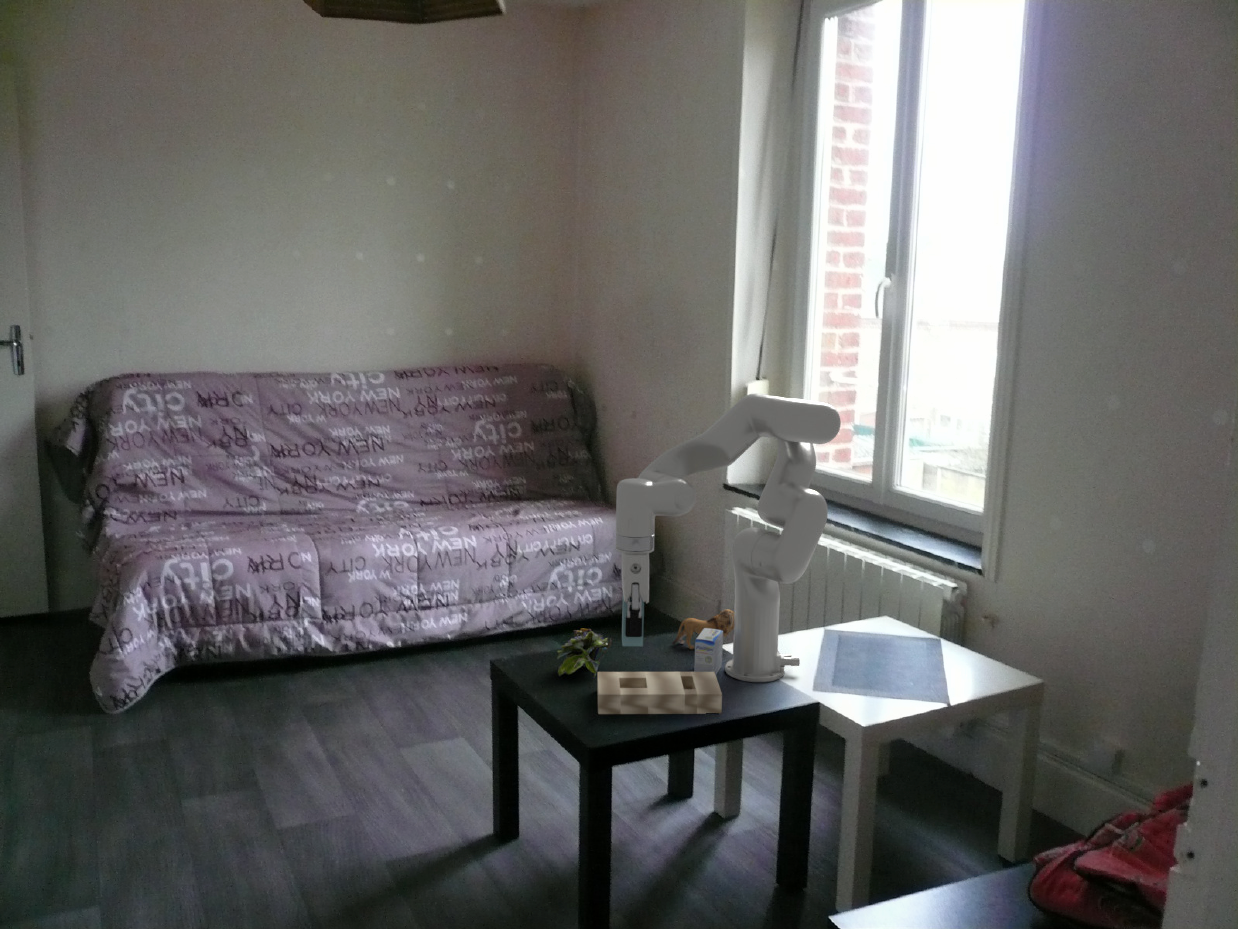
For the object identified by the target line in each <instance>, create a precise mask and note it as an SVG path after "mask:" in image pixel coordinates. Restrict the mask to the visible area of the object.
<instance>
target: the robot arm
mask: <svg viewBox="0 0 1238 929" xmlns="http://www.w3.org/2000/svg"><path fill="white" fill-rule="evenodd" d="M840 429H841V416H840V414H839V412H838V411H837V408H835V407H834V406H833V405H830V404H828V403H825V402H821V401H820V402H819V401H815V400H814V401H813V400H809V399H802V398H793V397H791V398H790V397H782V396H776V395H770V394H763V393H749V394H747V395H744V396H743V397H742V398H740V399H739V400H738V401H737V402H736V403H735V404H733V405H732V406H731V408H729V409H728V410H727V411H726V412H725V413H724V414H723V415H722V416H721V417H719V418H718V419H717V420H716V421H715V422H714V423H713V424H712V425H711V426H710V427H708V428H707V429H706V430H705V431H704V432H703V433H701V434H699V435H698V436H695V437H692V438H690V439H688V440H686V441H684V442H682V443H680V444H677V445H675V446H674V447H673V446H672V448H670V449H668V450H666V451H664V452H663V453H661V454H660V455H659V456H658V457H657V458H655V459H654V460H653V461H652V462H651V463H650V464H648V465H647V466H646V467H645V468H644V470H642V471H641V473H640V474H639V476H638V477H636V478H634V477H633V478H625V479H622V480H620V481H619V482H618V483H617V486H616V499H615V500H616V502H615V504H616V506H615V507H616V508H615V510H616V511H615V518H616V519H615V551H616V552H618V553H621V588H622V597H623V596H624V601H625V602H626V603H627V617H626V628H625V635H626V637H641V636H642V617H641V604H642V600H643V602H644V603H645V604H648V603H649V602H650V553H653V552H654V551H655V530H656V529H655V528H656V527H655V526H656V525H655V522H656V520H655V519H656V516H664V517H679V516H683V515H686V514H688V513H690V511H691V510H693V508H694V506H695V505H696V502H697V491H696V489H695V487H694V486H693V485H692V483H690V482H689V481H688V480H686V478H687V477H690V476H692V475H695V474H698V473H703V472H708V471H716V470H719V469H723V468H726V467H729V466H731V465H733V464H734V463H735V462H736V461H737V459H739V458H740V457H741V456H742V455H744V454H745V452H746V451H748V450H749V449H750V448H751V447H752V446H753V445H754V444H755V443H756V442H758V440H759V439H761V438H762V437H763V438H764V437H765V438H767V439H773V440H776V444H777V454H776V455H777V457H776V459H775V463H774V465H773V468H772V469H771V472H770V474H769V476H768V479H767V480H766V483H765V486H764V487H763V490H762V492H761V495H760V497H759V500H758V503H757V508H756V509H757V510H756V511H757V515H758V516H759V518H760V519H761V520H762V521H763V522H765V523H766V524H769V525H771V526H773V527H775V528H776V527H777V528H780V529H782V531H781V533H778V532H775V531H771V530H769V529H767V528H766V529H765V528H763V527H753V526H752V527H747V528H744V529H742V530H741V531H739V532H738V533H737V534H736V536H735V537H734V539H733V541H732V545H731V549H730V550H731V551H730V552H731V561H732V568H733V574H734V603H733V604H734V607H733V609H734V611H733V612H734V628H733V640H732V643H733V644H732V659H730V660H729V661H727V662H725V665H724V667H725V668H724V670H725V672H726V674H727V675H728V676H730V677H732V678H734V679H736V680H739V681H742V682H743V681H744V682H751V683H767V682H774V681H776V680H779V679H781V678H782V677H783V676H784V675H785V668H786V666H790V667H799V666H800V665H801V663H800V657H799V656H792V654H791V653H785V654H783V653H782V654H781V653H780V651H779V647H778V646H779V628H780V627H779V624H780V623H779V622H780V603H781V600H780V599H781V593H780V592H781V591H780V585H779V583H780V584H787V585H789V584H792V583H795V582H797V581H799V579H800V578H801V577H802V576H803V575H804V574H805V571H806V570H807V568H808V566H809V564H810V562H811V559H812V557H813V555H814V553H815V551H816V548H817V546H818V543H819V541H820V538H821V536H822V534H823V532H824V530H825V527H826V524H827V520H828V512H829V510H828V509H829V508H828V504H827V501H826V499H825V497H824V496H823V495H822V494H821V493H820V492H819V491H817V490H814V489H811V488H809V487H810V485H811V483H812V480H813V477H814V474H815V471H816V467H817V456H816V452H815V447H814V445H815V444H816V445H824V444H828V443H830V442H832V440H834V439H835V438H836V437H837V436H838V434H839V432H840ZM629 596H630V597H629ZM629 598H630V599H632V601H629ZM630 605H632V607H631V608H630Z"/></svg>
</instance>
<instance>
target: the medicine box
mask: <svg viewBox="0 0 1238 929" xmlns="http://www.w3.org/2000/svg"><path fill="white" fill-rule="evenodd" d="M694 640H695V642H694V668H693V670H694V671H693V672H715V675H716V676H717V675H718V673H719V671H720V670H721V668H722V666H723V645H724V636H723V631H722V630H717V629H710V628H704V629H703V630H702V632H701V633H700V634H698V636H697V637H696V639H694Z"/></svg>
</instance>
